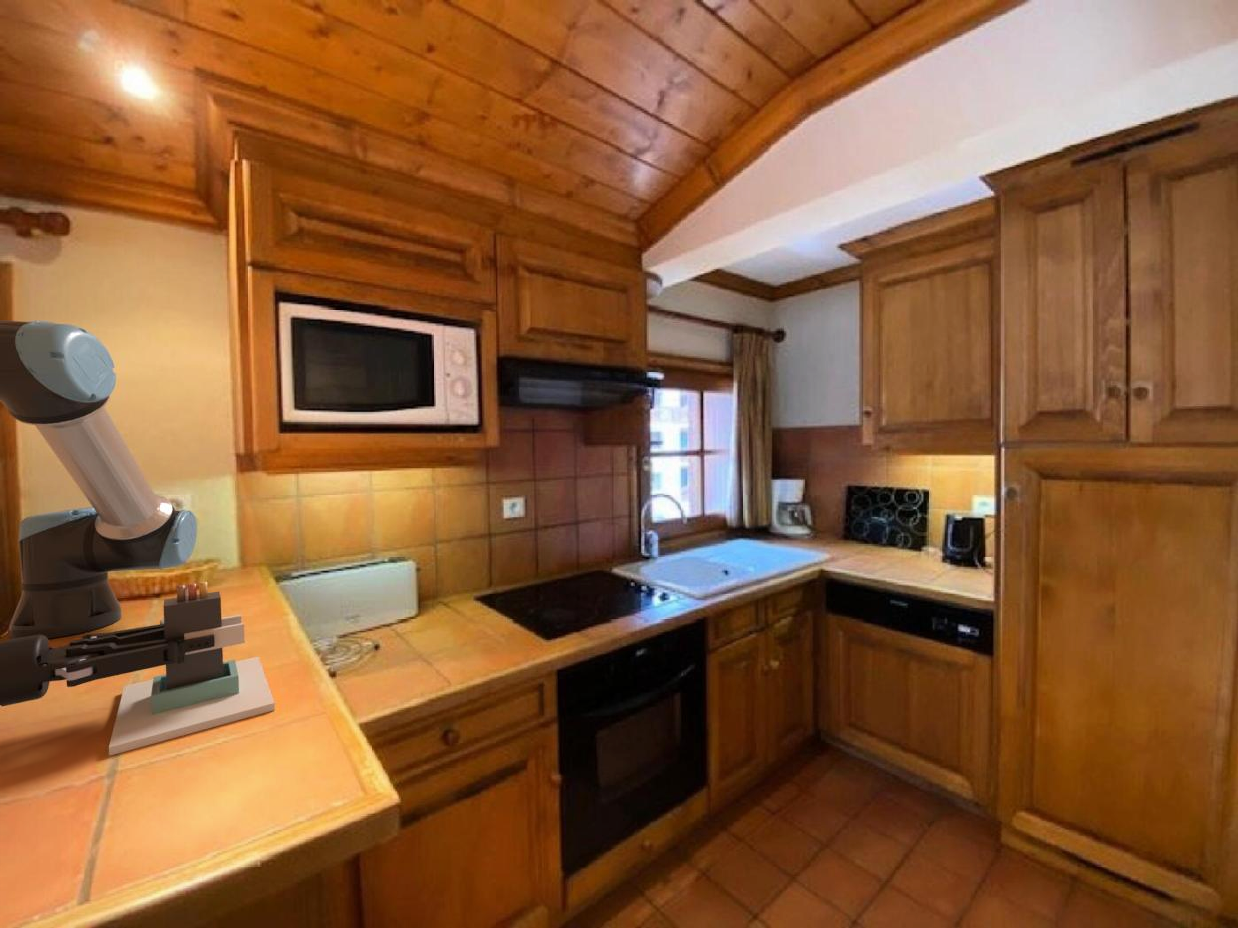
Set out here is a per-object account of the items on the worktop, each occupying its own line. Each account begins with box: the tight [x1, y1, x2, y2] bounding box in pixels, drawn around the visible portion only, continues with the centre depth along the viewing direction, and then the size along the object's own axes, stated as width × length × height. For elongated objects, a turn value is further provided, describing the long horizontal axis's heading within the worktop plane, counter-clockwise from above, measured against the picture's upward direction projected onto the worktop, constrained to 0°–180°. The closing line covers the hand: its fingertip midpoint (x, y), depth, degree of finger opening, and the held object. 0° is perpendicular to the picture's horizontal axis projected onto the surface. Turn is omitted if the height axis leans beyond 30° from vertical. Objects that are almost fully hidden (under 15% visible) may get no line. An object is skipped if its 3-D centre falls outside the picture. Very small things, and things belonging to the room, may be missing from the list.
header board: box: [108, 656, 276, 757], centre depth 73 cm, size 20×16×4 cm
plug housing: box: [163, 581, 224, 690], centre depth 72 cm, size 4×6×14 cm, turn 130°
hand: (242, 628), depth 76 cm, fingers closed on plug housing, 4 cm apart
